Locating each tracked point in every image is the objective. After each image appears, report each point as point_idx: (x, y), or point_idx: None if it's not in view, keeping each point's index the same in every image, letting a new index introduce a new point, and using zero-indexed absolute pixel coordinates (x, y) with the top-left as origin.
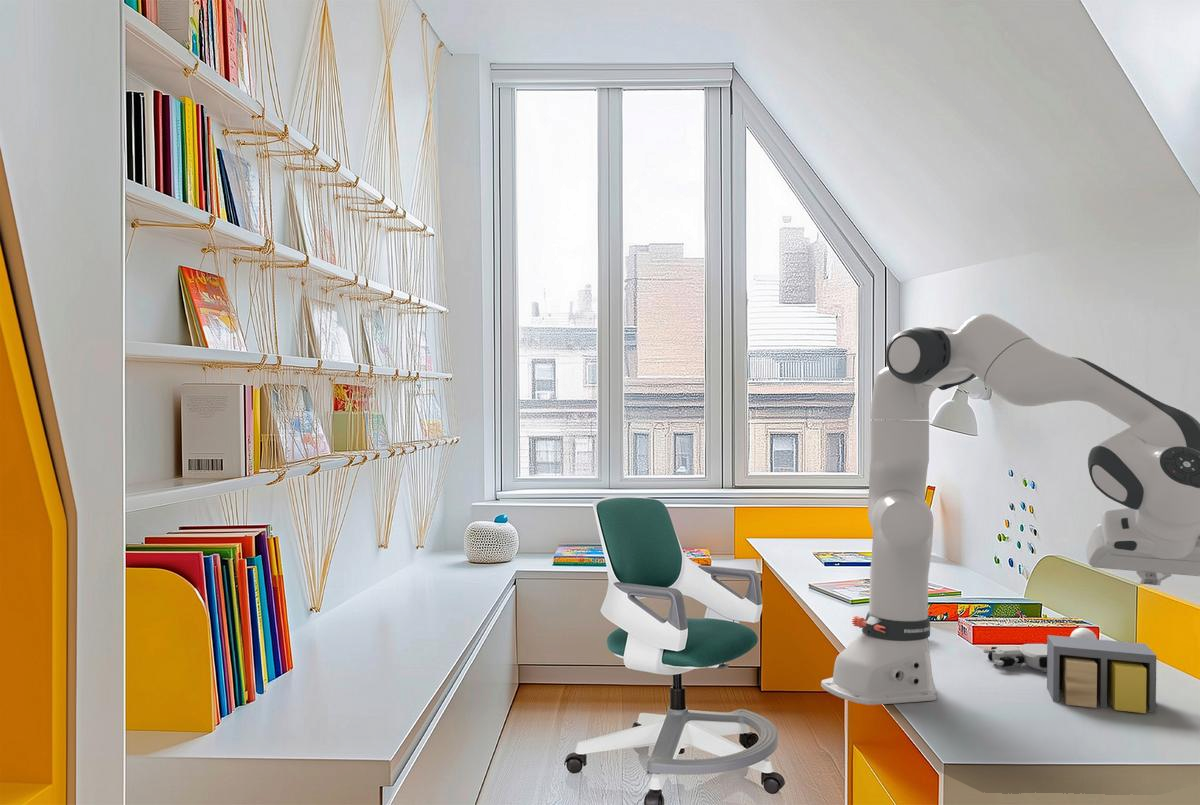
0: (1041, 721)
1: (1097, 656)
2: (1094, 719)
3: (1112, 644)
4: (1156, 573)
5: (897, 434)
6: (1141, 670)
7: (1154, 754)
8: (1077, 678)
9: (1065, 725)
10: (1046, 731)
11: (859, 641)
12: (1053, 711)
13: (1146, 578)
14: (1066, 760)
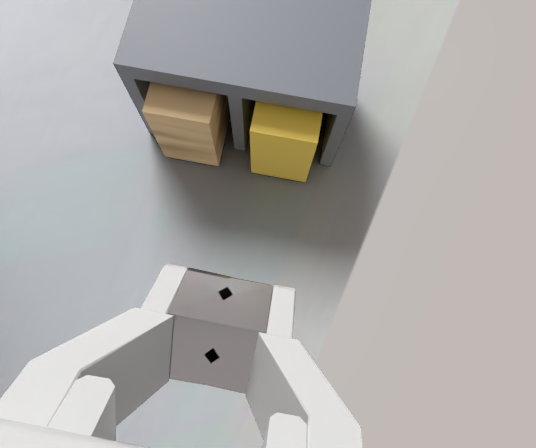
0: (71, 263)
1: (219, 92)
2: (189, 229)
3: (282, 21)
4: (256, 354)
5: None
6: (306, 143)
7: (222, 427)
8: (173, 133)
9: (112, 279)
10: (54, 326)
11: None
12: (124, 194)
13: (171, 377)
14: None
